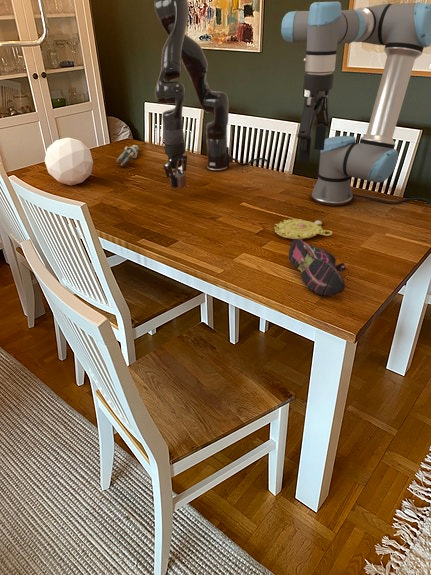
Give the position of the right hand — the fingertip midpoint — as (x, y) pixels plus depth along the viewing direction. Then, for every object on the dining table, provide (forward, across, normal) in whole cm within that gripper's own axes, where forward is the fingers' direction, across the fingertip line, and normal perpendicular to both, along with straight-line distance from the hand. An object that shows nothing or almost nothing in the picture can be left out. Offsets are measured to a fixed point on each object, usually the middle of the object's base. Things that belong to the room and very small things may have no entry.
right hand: (311, 155), depth 125 cm
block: (+23, -16, -57) cm, 63 cm away
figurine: (+28, -52, -109) cm, 123 cm away
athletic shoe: (+28, +19, +11) cm, 35 cm away
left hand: (+22, -16, -57) cm, 64 cm away
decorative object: (+28, -6, -3) cm, 29 cm away
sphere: (+28, -13, -109) cm, 113 cm away
